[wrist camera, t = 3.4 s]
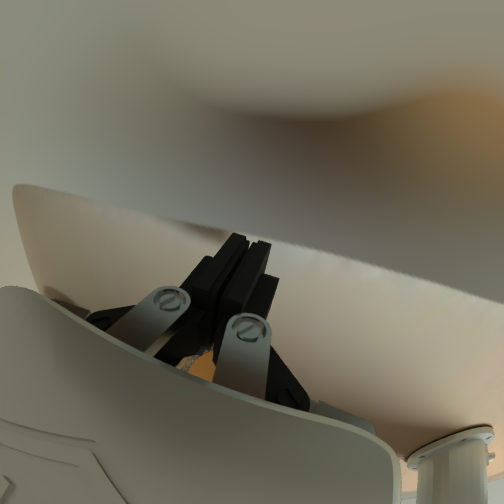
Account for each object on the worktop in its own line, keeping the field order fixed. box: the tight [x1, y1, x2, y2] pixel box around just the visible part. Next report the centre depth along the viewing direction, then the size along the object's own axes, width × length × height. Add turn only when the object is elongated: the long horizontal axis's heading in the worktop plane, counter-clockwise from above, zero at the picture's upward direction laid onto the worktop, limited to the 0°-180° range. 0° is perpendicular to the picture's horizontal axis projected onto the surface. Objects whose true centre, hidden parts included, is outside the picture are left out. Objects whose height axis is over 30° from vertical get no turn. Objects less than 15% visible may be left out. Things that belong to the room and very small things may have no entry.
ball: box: [188, 350, 216, 382], centre depth 16 cm, size 6×6×6 cm
